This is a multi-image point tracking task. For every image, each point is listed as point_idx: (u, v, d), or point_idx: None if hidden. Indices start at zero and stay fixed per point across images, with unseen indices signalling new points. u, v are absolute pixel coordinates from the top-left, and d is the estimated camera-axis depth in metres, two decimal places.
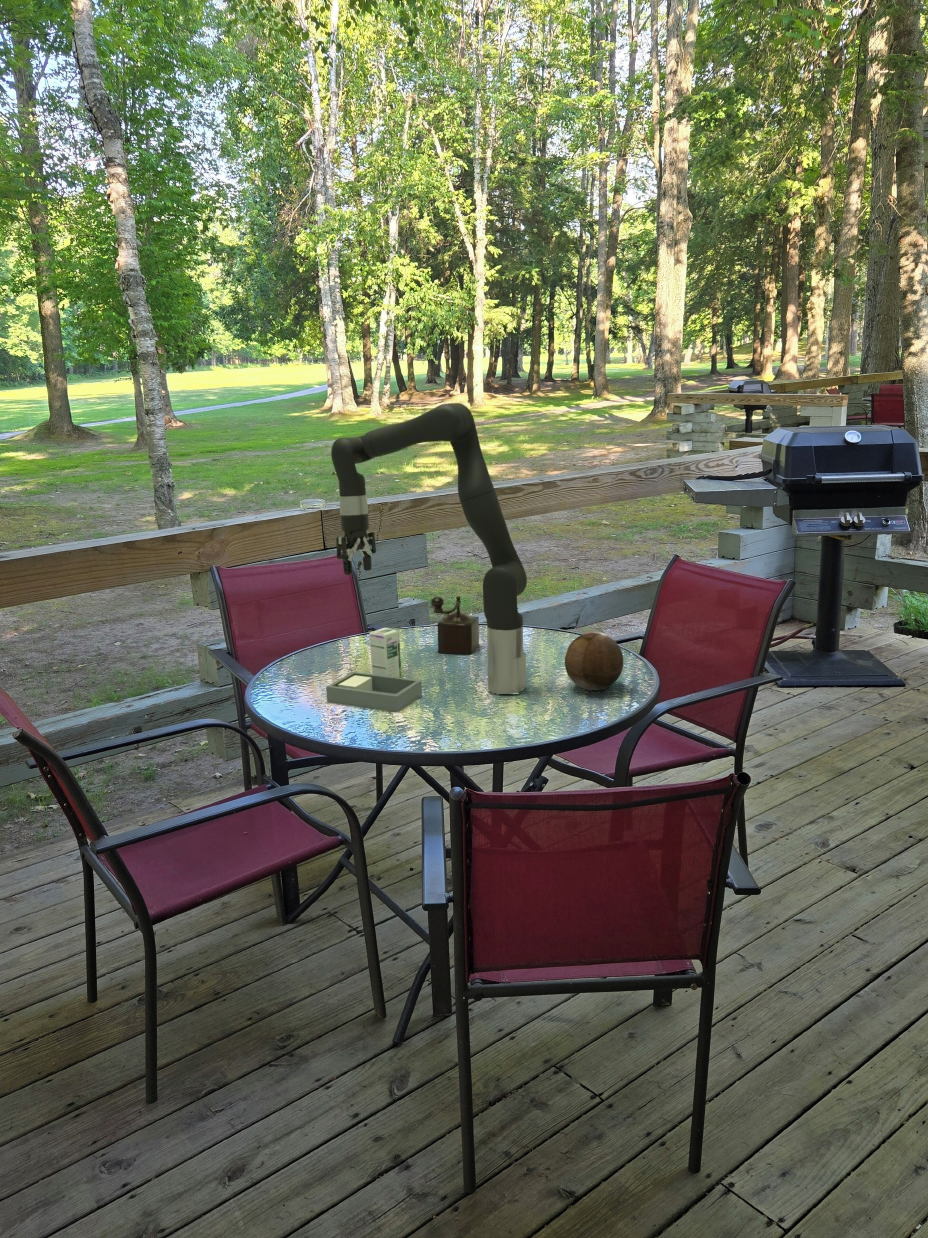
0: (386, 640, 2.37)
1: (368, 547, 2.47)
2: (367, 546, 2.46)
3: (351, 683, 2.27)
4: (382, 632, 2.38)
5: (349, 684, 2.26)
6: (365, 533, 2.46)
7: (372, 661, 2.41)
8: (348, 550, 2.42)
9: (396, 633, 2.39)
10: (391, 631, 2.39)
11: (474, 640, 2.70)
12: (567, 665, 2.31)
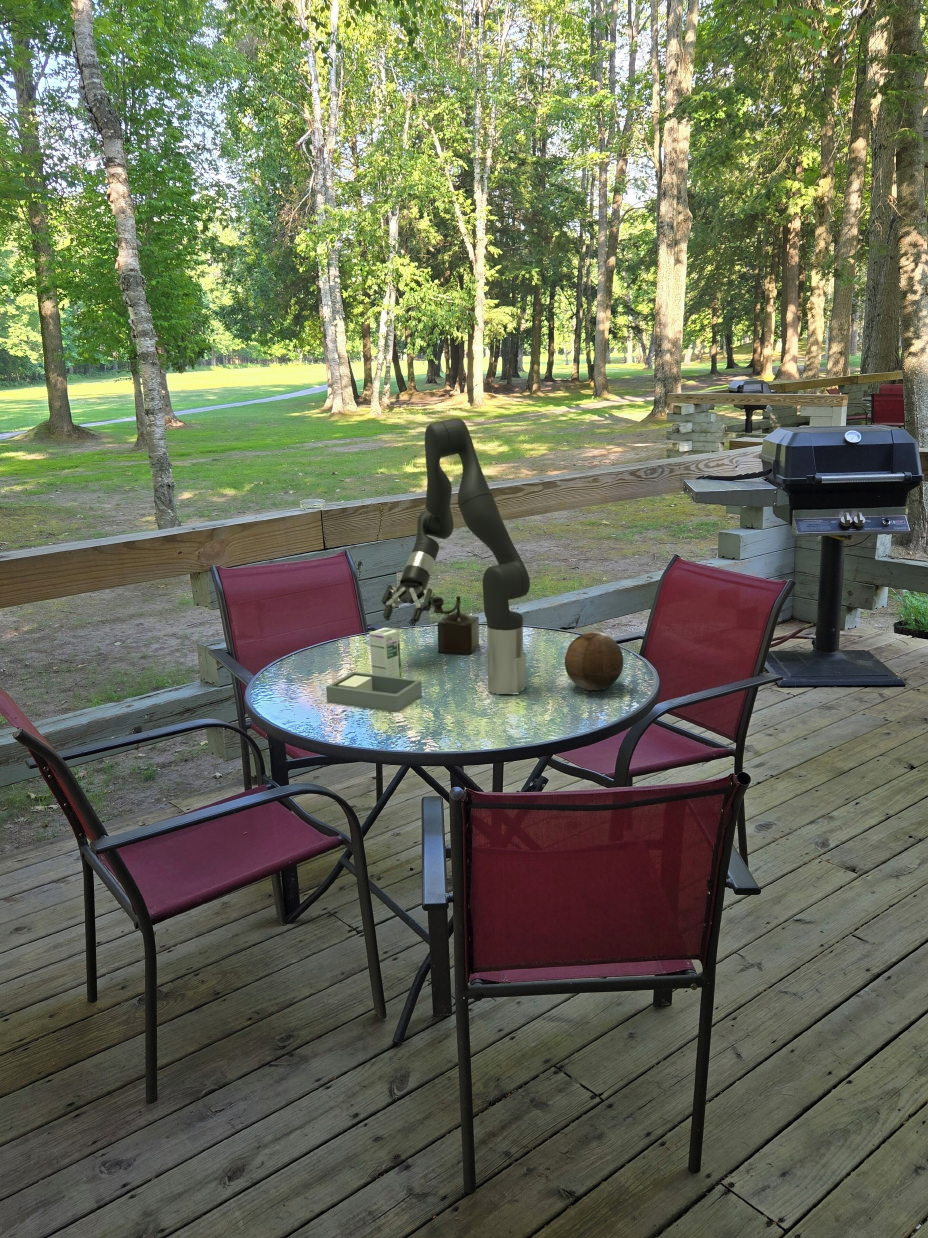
0: (386, 640, 2.37)
1: (414, 598, 2.47)
2: (413, 597, 2.47)
3: (351, 683, 2.27)
4: (382, 632, 2.38)
5: (349, 684, 2.26)
6: (419, 587, 2.49)
7: (372, 661, 2.41)
8: None
9: (396, 633, 2.39)
10: (391, 631, 2.39)
11: (474, 640, 2.70)
12: (567, 665, 2.31)
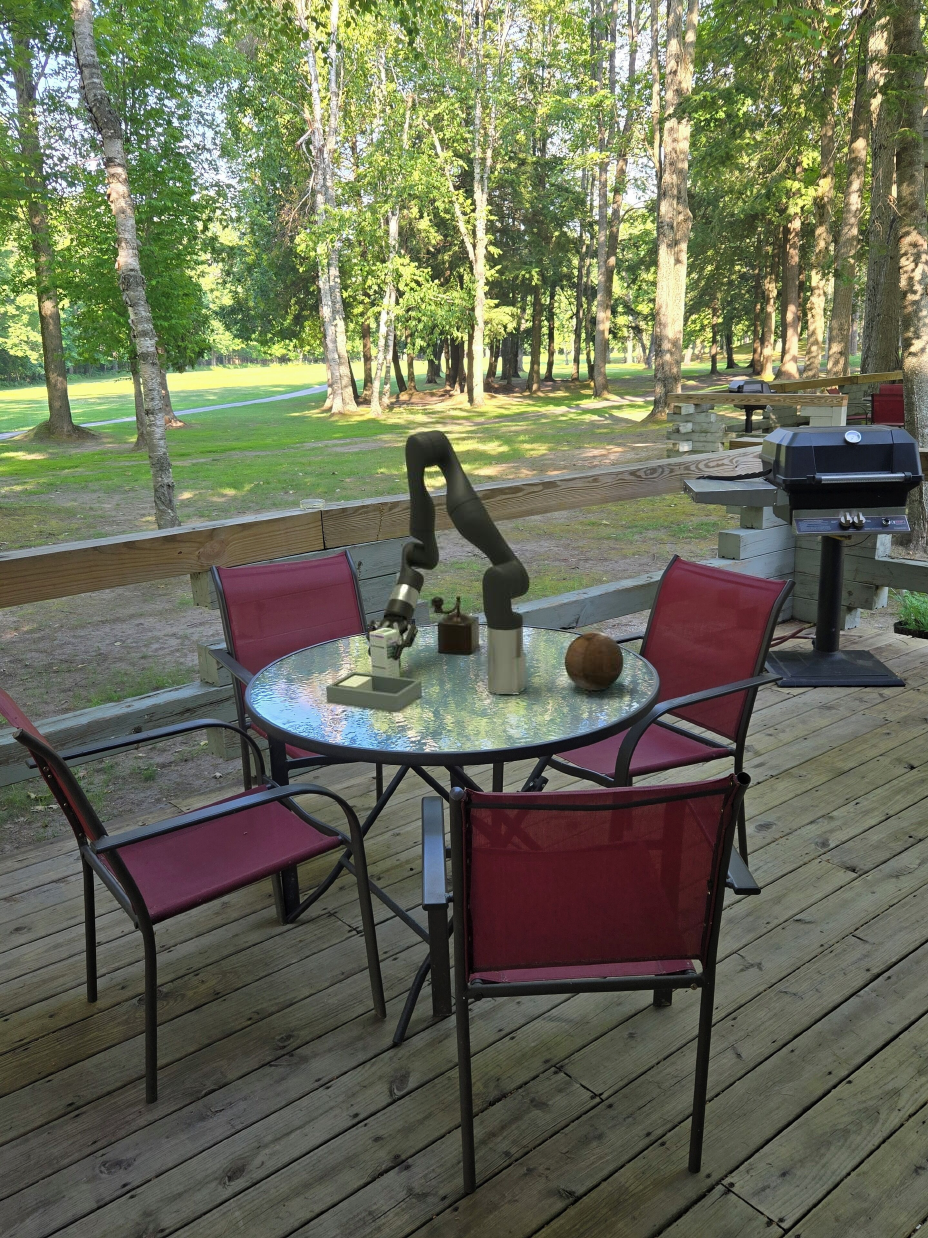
0: (386, 640, 2.37)
1: None
2: None
3: (351, 683, 2.27)
4: (382, 632, 2.38)
5: (349, 684, 2.26)
6: (403, 622, 2.42)
7: (372, 661, 2.41)
8: None
9: (396, 633, 2.39)
10: (391, 631, 2.39)
11: (474, 640, 2.70)
12: (567, 665, 2.31)
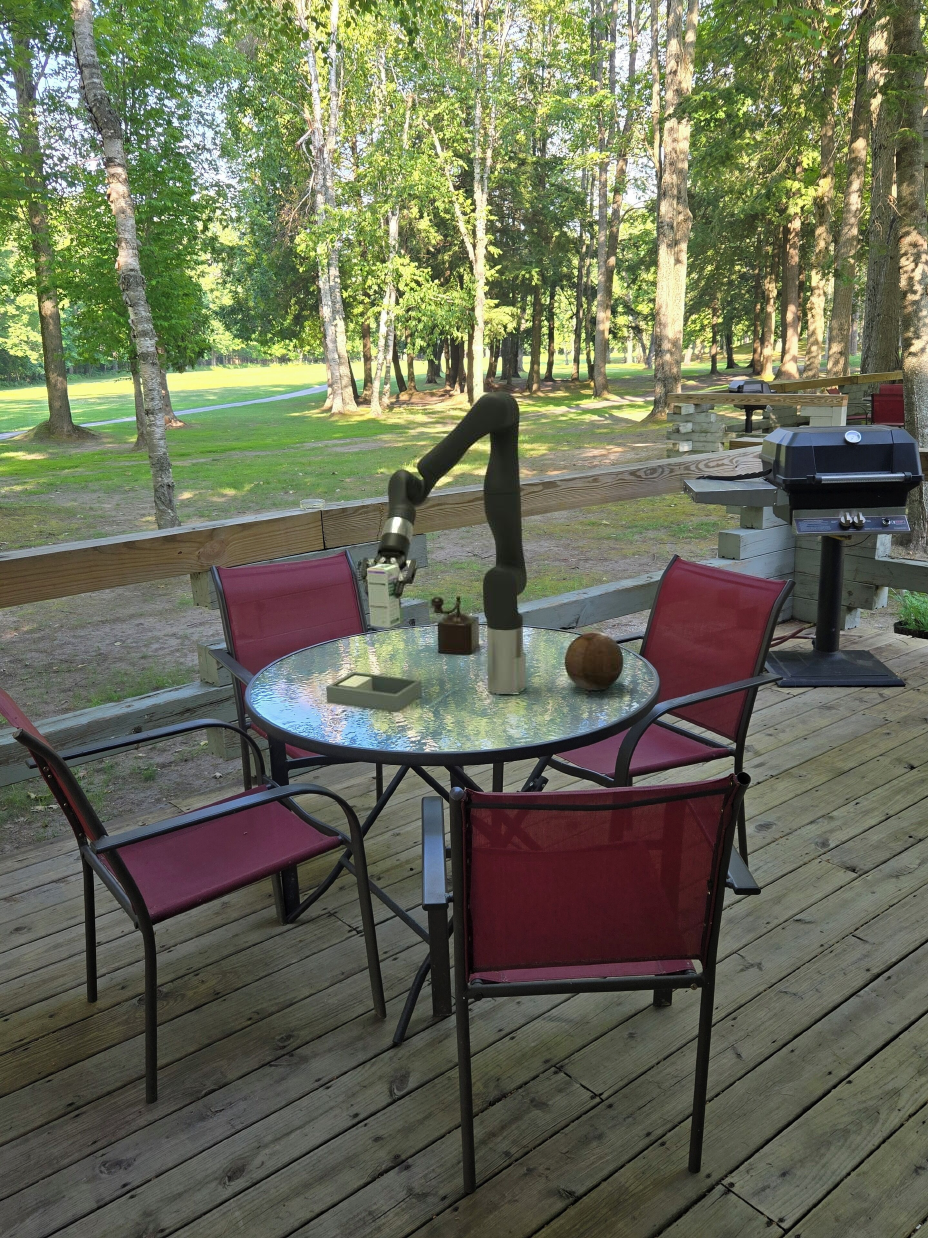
0: (388, 575, 2.15)
1: None
2: None
3: (351, 683, 2.27)
4: (382, 567, 2.16)
5: (349, 684, 2.26)
6: (401, 557, 2.21)
7: (370, 601, 2.18)
8: None
9: (396, 568, 2.18)
10: (391, 566, 2.17)
11: (474, 640, 2.70)
12: (567, 665, 2.31)
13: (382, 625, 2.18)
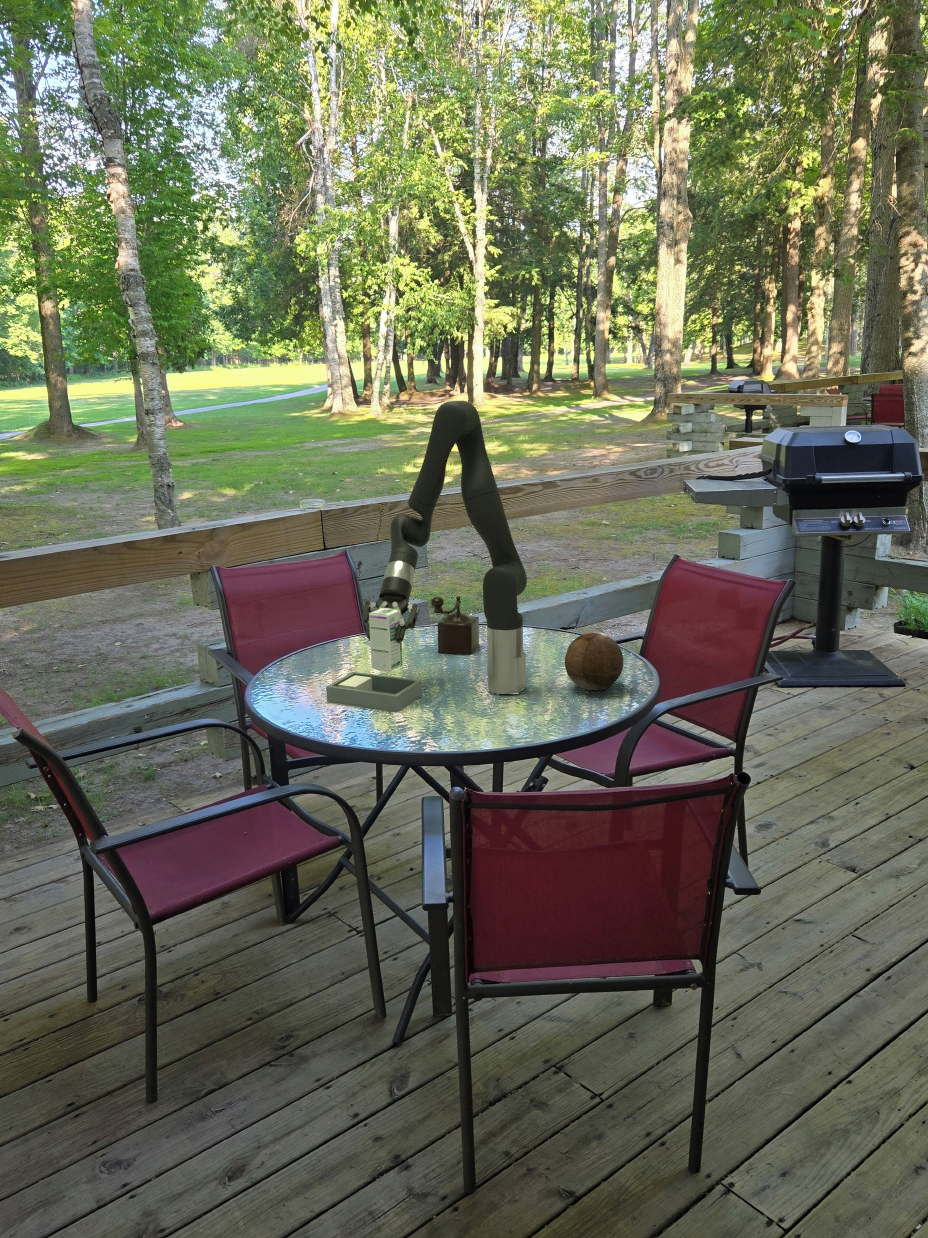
0: (390, 621, 2.18)
1: None
2: None
3: (351, 683, 2.27)
4: (384, 612, 2.18)
5: (349, 684, 2.26)
6: (403, 601, 2.24)
7: (372, 645, 2.21)
8: None
9: (397, 613, 2.20)
10: (392, 611, 2.20)
11: (474, 640, 2.70)
12: (567, 665, 2.31)
13: (383, 669, 2.21)
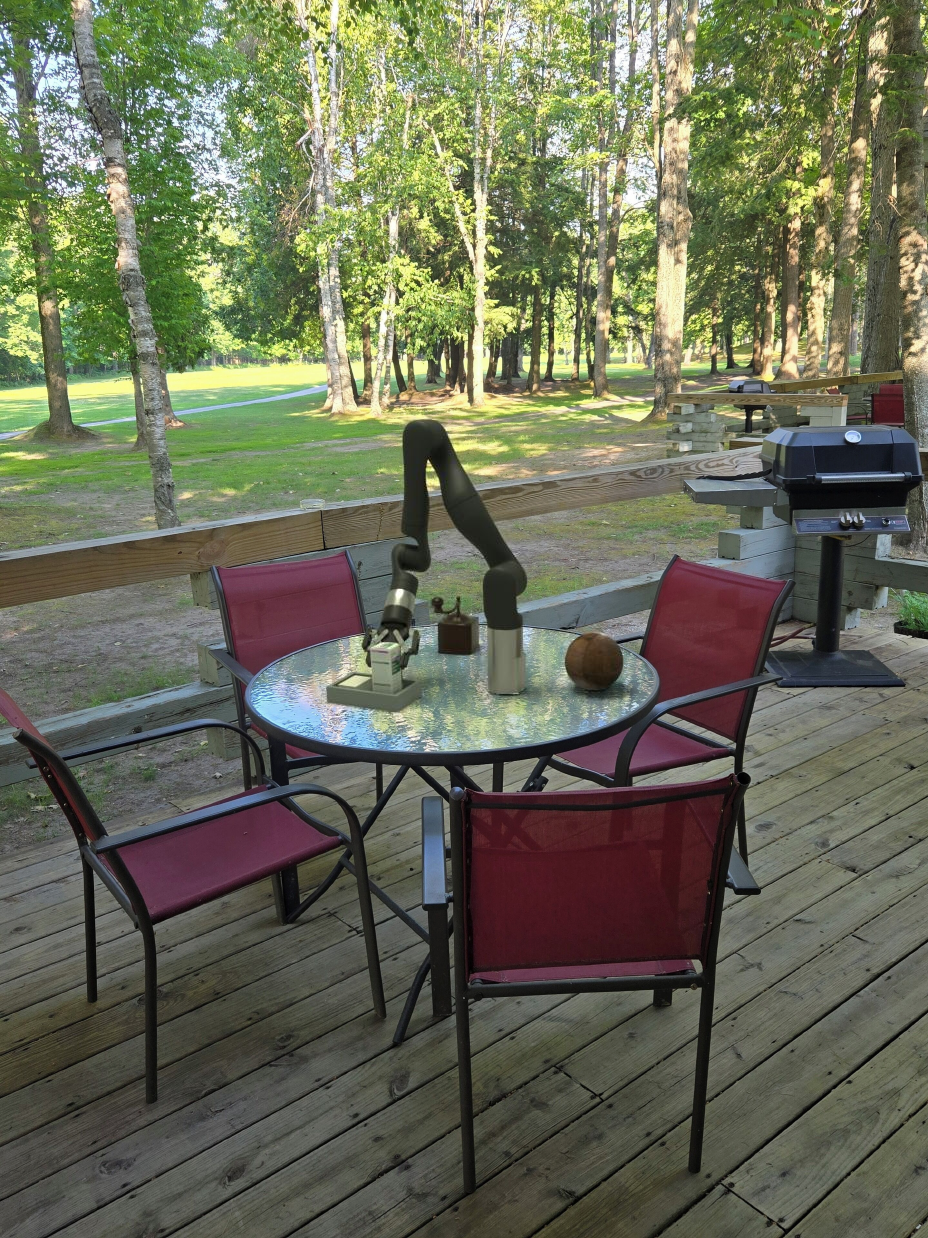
0: (391, 655, 2.20)
1: (400, 642, 2.23)
2: (399, 640, 2.24)
3: (351, 683, 2.27)
4: (385, 646, 2.21)
5: (349, 684, 2.26)
6: (404, 629, 2.26)
7: (373, 678, 2.23)
8: None
9: (398, 646, 2.23)
10: (393, 645, 2.22)
11: (474, 640, 2.70)
12: (567, 665, 2.31)
13: None
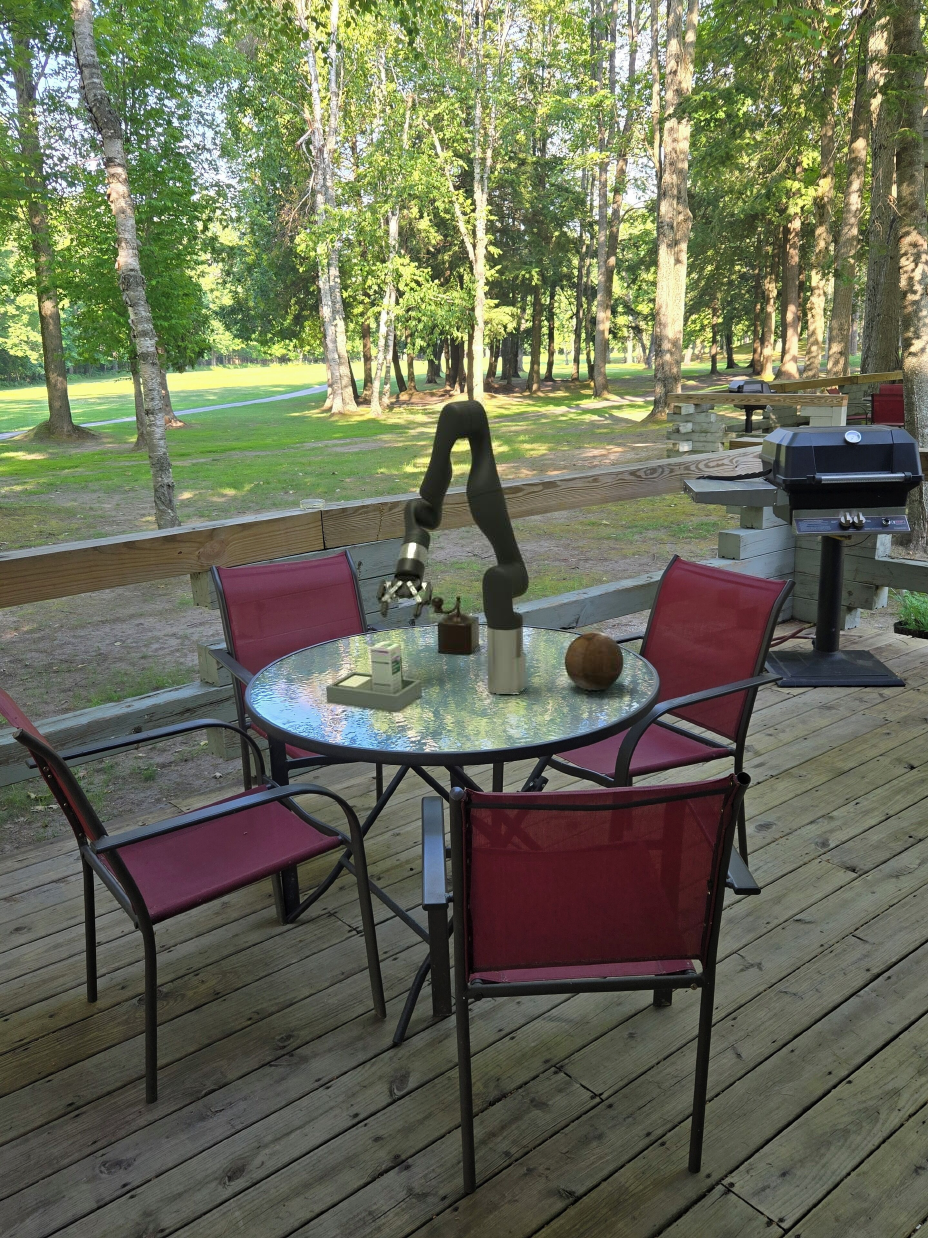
0: (391, 655, 2.20)
1: (414, 592, 2.32)
2: (413, 591, 2.32)
3: (351, 683, 2.27)
4: (385, 646, 2.21)
5: (349, 684, 2.26)
6: (417, 581, 2.34)
7: (373, 678, 2.23)
8: None
9: (398, 646, 2.23)
10: (393, 645, 2.22)
11: (474, 640, 2.70)
12: (567, 665, 2.31)
13: None
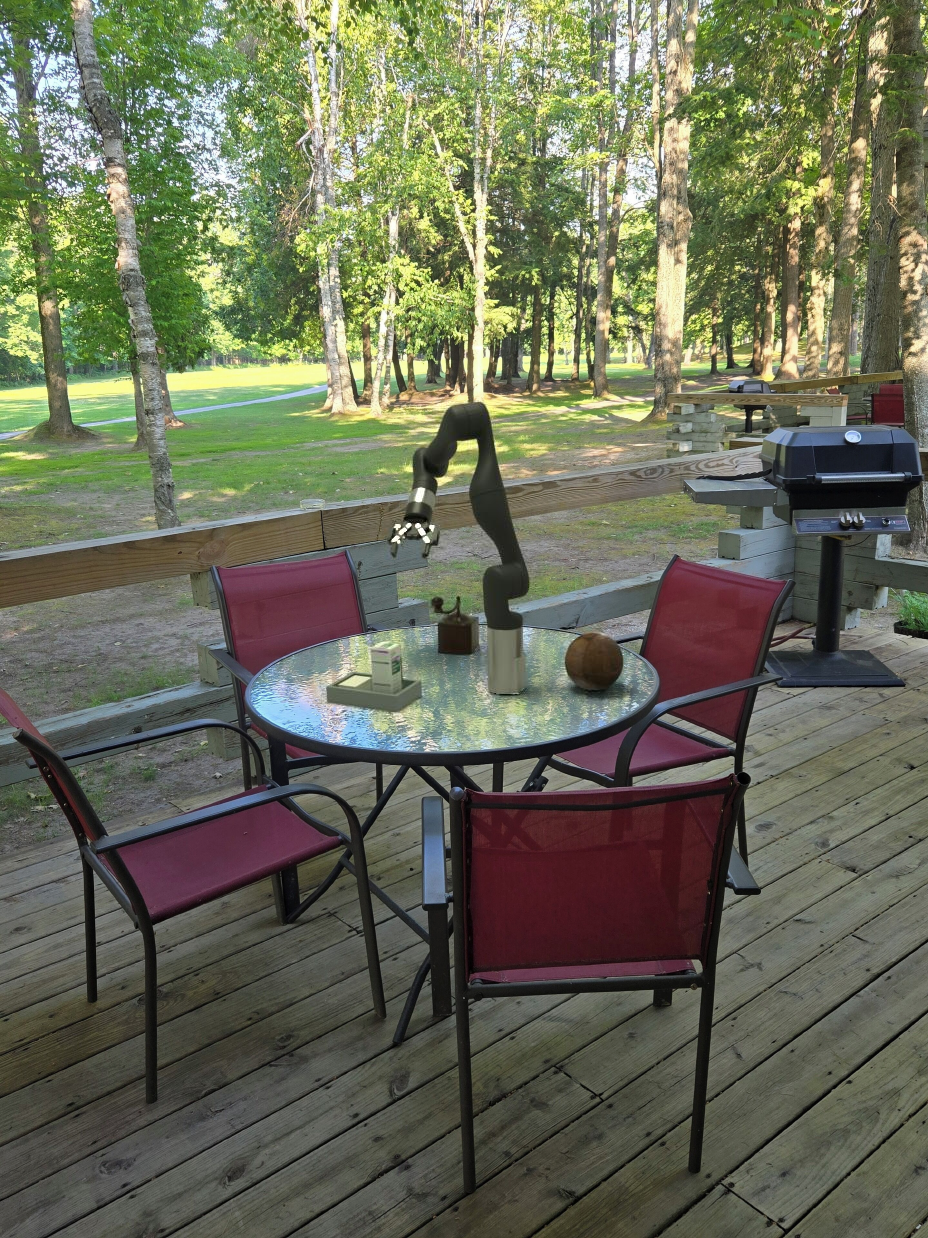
0: (391, 655, 2.20)
1: (422, 533, 2.44)
2: (421, 532, 2.45)
3: (351, 683, 2.27)
4: (385, 646, 2.21)
5: (349, 684, 2.26)
6: (425, 523, 2.47)
7: (373, 678, 2.23)
8: None
9: (398, 646, 2.23)
10: (393, 645, 2.22)
11: (474, 640, 2.70)
12: (567, 665, 2.31)
13: None
